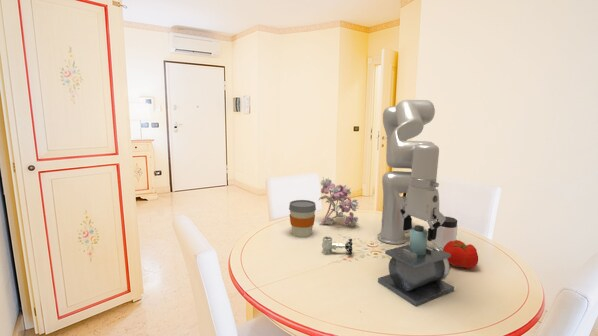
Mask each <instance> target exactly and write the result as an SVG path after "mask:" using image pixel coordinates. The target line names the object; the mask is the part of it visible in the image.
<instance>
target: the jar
mask: <svg viewBox="0 0 598 336" xmlns="http://www.w3.org/2000/svg"><path fill="white" fill-rule="evenodd" d="M444 216H445V215H444ZM445 217H446V220H445V221H444V222H443V224H442V225H441V226H440V227H439V228H437V234H436V239H435V240H433V244H434V246H436V247H438V248H440V249H444V246H445V245H446V244H447V243H448V242H449V241H455V240H457V236H458V220H457V218H454V217H451V216H445ZM436 221H438V219H436Z"/></svg>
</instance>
